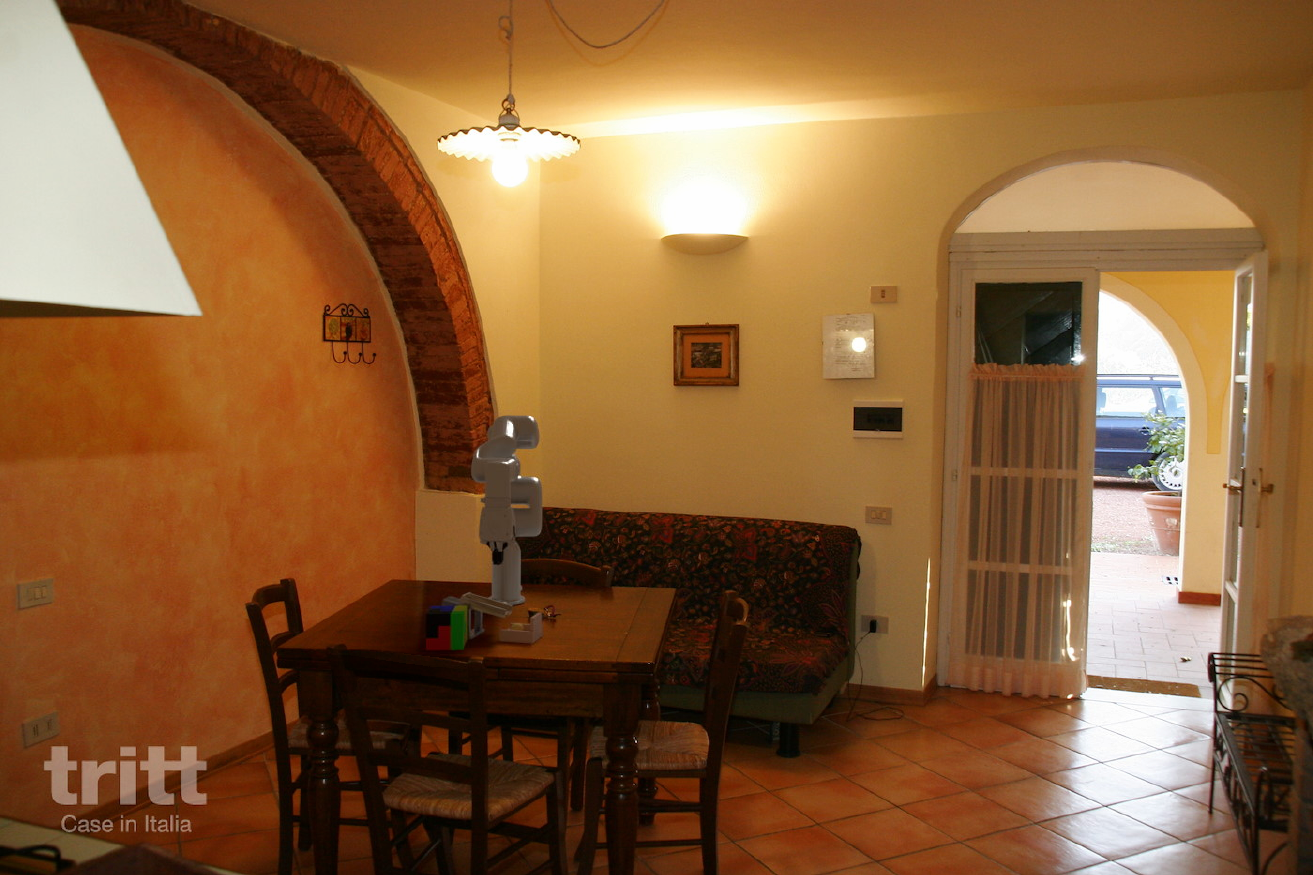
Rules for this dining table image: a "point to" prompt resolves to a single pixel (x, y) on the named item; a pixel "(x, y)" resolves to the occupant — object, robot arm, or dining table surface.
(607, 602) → the dining table surface
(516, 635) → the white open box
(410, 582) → the dining table surface
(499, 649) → the dining table surface
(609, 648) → the dining table surface
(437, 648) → the puzzle toy
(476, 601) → the lever
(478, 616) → the stand
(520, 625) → the ball
